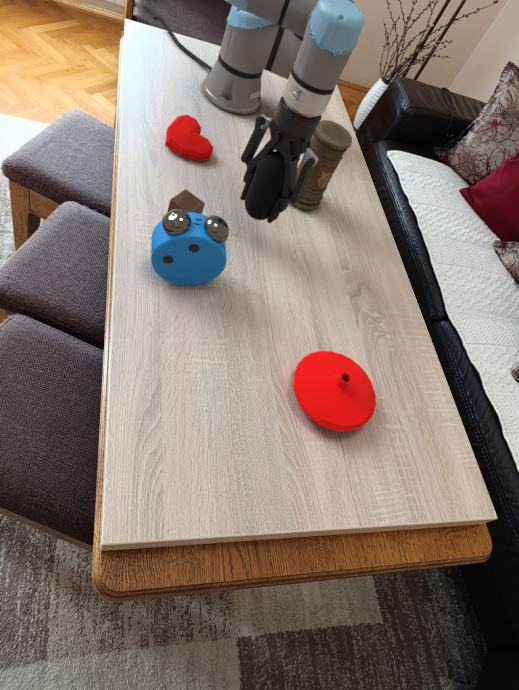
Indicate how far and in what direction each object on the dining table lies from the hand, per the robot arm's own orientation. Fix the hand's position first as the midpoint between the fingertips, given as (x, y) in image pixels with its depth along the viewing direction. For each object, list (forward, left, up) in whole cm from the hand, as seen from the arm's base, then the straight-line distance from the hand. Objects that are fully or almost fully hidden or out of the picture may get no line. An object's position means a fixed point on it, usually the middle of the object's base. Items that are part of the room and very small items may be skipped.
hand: (258, 208), depth 101 cm
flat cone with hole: (+39, -6, -7) cm, 41 cm away
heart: (-28, -1, -7) cm, 28 cm away
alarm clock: (+6, -19, -7) cm, 22 cm away
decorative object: (0, 0, -2) cm, 2 cm away
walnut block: (-7, -12, -7) cm, 16 cm away
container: (-7, +20, -7) cm, 22 cm away
